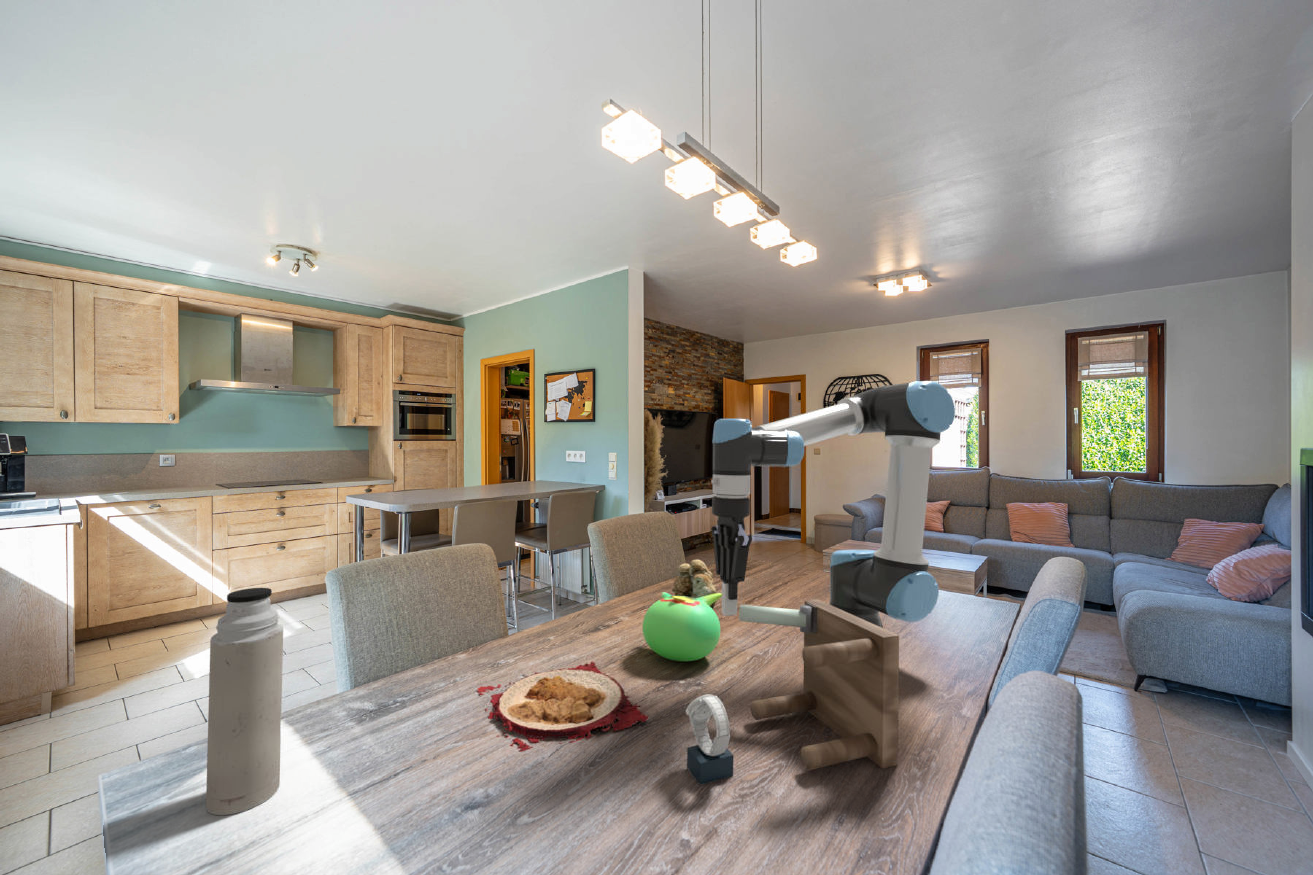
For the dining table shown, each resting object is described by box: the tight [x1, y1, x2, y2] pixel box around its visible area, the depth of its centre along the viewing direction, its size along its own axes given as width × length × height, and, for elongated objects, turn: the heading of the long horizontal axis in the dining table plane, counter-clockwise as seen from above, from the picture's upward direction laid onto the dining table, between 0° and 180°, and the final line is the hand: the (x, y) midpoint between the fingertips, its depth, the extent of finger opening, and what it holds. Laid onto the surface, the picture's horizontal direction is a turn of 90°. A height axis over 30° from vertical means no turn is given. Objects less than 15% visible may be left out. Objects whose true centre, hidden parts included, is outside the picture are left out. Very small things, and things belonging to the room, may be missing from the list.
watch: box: [685, 694, 734, 786], centre depth 80 cm, size 6×8×11 cm
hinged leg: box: [738, 604, 812, 634], centre depth 99 cm, size 13×3×4 cm, turn 75°
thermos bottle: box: [205, 587, 284, 816], centre depth 73 cm, size 8×8×28 cm
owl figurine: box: [671, 559, 721, 623], centre depth 148 cm, size 18×12×17 cm, turn 34°
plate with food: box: [477, 661, 649, 753], centre depth 99 cm, size 25×26×4 cm
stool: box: [749, 599, 900, 771], centre depth 89 cm, size 15×20×20 cm
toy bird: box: [642, 591, 722, 662], centre depth 123 cm, size 18×17×15 cm
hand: (729, 614), depth 106 cm, fingers closed
